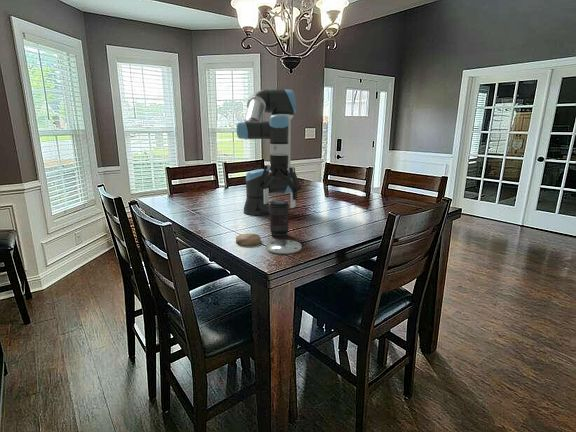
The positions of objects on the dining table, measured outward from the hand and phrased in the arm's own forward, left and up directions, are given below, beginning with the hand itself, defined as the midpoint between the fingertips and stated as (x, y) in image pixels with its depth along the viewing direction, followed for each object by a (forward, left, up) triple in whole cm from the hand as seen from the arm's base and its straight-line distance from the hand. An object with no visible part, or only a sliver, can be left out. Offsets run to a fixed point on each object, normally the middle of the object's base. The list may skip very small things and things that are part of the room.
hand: (279, 205), depth 144 cm
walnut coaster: (-6, -14, -14) cm, 20 cm away
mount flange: (+10, -12, -14) cm, 20 cm away
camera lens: (0, 0, -14) cm, 14 cm away
